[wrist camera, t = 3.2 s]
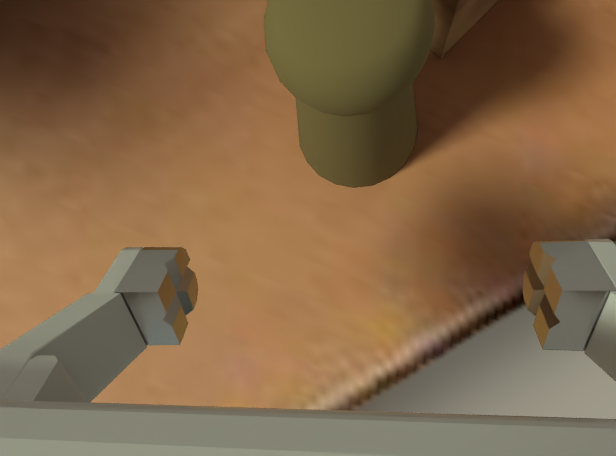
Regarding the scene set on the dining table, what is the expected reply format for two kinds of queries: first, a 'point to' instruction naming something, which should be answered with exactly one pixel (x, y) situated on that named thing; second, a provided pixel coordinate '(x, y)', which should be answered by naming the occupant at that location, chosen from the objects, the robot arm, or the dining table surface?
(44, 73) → the dining table surface
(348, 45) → the olive knobbed peg
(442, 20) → the walnut block
